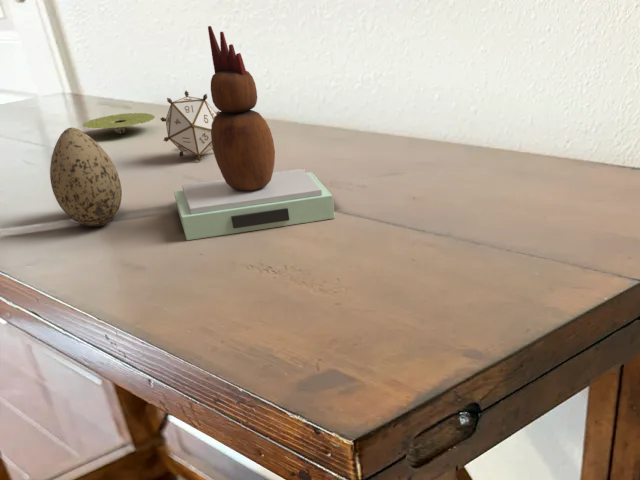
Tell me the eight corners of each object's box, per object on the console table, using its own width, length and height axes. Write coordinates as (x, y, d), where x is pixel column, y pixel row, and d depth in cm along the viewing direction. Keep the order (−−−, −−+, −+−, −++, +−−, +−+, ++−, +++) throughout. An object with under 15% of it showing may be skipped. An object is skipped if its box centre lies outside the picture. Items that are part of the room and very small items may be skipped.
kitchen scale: (187, 241, 85) (180, 211, 83) (178, 212, 93) (172, 185, 92) (335, 219, 88) (332, 190, 86) (314, 193, 97) (310, 166, 95)
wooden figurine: (212, 186, 90) (182, 27, 81) (259, 176, 92) (234, 20, 83) (239, 199, 85) (210, 32, 76) (287, 187, 88) (264, 24, 79)
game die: (196, 188, 115) (144, 136, 107) (190, 153, 120) (139, 100, 112) (245, 151, 113) (195, 94, 105) (237, 116, 117) (188, 59, 109)
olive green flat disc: (72, 136, 131) (68, 123, 130) (131, 122, 137) (128, 110, 136) (111, 144, 125) (107, 130, 123) (171, 129, 131) (168, 115, 130)
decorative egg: (56, 225, 92) (26, 129, 86) (117, 211, 95) (91, 117, 89) (77, 240, 87) (46, 139, 81) (140, 224, 90) (115, 126, 84)
